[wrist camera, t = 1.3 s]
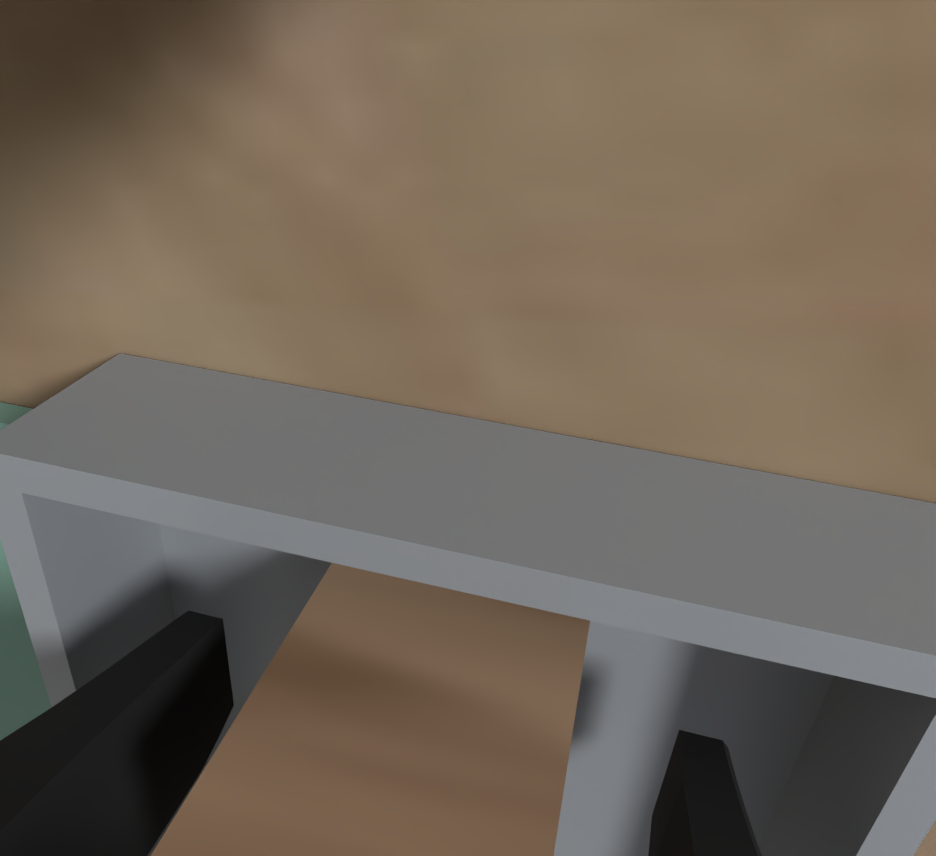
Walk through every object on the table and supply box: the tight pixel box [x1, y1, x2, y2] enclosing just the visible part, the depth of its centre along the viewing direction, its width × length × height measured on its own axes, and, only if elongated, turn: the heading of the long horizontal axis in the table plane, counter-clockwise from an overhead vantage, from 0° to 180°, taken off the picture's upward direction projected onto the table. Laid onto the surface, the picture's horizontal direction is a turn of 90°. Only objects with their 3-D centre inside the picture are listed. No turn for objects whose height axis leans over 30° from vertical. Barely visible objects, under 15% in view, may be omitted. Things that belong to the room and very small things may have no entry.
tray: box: [0, 353, 936, 856], centre depth 15 cm, size 16×13×3 cm
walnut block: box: [151, 563, 590, 856], centre depth 11 cm, size 4×4×6 cm
